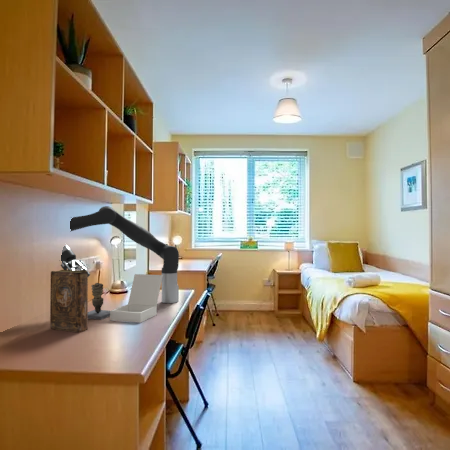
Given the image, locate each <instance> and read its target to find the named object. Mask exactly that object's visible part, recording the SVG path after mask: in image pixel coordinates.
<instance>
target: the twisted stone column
mask: <svg viewBox="0 0 450 450" xmlns="http://www.w3.org/2000/svg"><path fill="white" fill-rule="evenodd" d="M90 287H91V293H92V294H91V295H92V296H93V298H91V302H92V306H93V308H94V310H95V312H97V313H99V312H101V310H102V306H103V305H104V298H103V297H102V296H103V292H104V284H103V283H99V282H95V283H94V284H91V286H90Z"/></svg>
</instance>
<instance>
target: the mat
mask: <svg viewBox="0 0 450 450" xmlns="http://www.w3.org/2000/svg"><path fill="white" fill-rule="evenodd" d="M110 311H111V310H104V309H103V310H102V309H101V312H99V313H97V312H95V309H94V310H89V311H88V320H98V321H99V320H104V319H106V318H110Z"/></svg>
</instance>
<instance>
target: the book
mask: <svg viewBox="0 0 450 450" xmlns="http://www.w3.org/2000/svg"><path fill="white" fill-rule="evenodd" d="M88 272H89V271H88V270H87V271H80V270H77V269H74V270H68V269H67V270H64V269H60V270H51V271H50V290H49V291H50V293H49V294H50V303H49V306H50V307H49V311H50V316H49V320H50V321H49V323H50V324H49V327H50V329H52V330H56V331H65V332H76V333H83V332H86V331H88V329H89V328H88V327H89V325H88V324H89V323H88V321H89V319H88V312H89V311H88V310H89V309H88V307H89V306H88V303H89V301H88V300H89V299H88V296H89V292H88V291H89V289H88V288H89V287H88V285H89V277H88Z"/></svg>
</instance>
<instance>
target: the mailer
mask: <svg viewBox="0 0 450 450" xmlns="http://www.w3.org/2000/svg"><path fill="white" fill-rule="evenodd" d="M162 276H163V275H162V274H142V273H134V276H133V280H132V285H131V290H130V294H129V297H128V302H127V304H124V305H122V306H120V307H117V308H114V309H112V310H109V311H110V316H109V321H114V322H126V323H127V322H128V323H138V324H139V323H140V324H141V323H144V321H146V320H149V319H152V318H153V317H155V316H157V306H158V302H159V296H160V293H161V292H160V291H161V288H162Z"/></svg>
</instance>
